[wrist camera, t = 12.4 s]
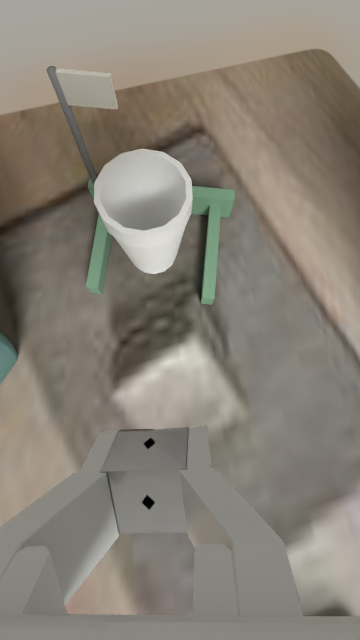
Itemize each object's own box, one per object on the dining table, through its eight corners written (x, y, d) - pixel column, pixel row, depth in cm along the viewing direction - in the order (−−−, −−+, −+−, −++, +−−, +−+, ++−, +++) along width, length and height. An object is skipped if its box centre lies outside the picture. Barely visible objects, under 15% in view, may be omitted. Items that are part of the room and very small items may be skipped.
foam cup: (158, 209, 43) (150, 132, 30) (201, 254, 41) (213, 194, 28) (105, 249, 41) (73, 187, 28) (148, 298, 40) (135, 255, 27)
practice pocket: (223, 305, 39) (261, 239, 22) (80, 291, 40) (3, 214, 22) (229, 208, 43) (267, 81, 25) (97, 195, 43) (42, 62, 25)
